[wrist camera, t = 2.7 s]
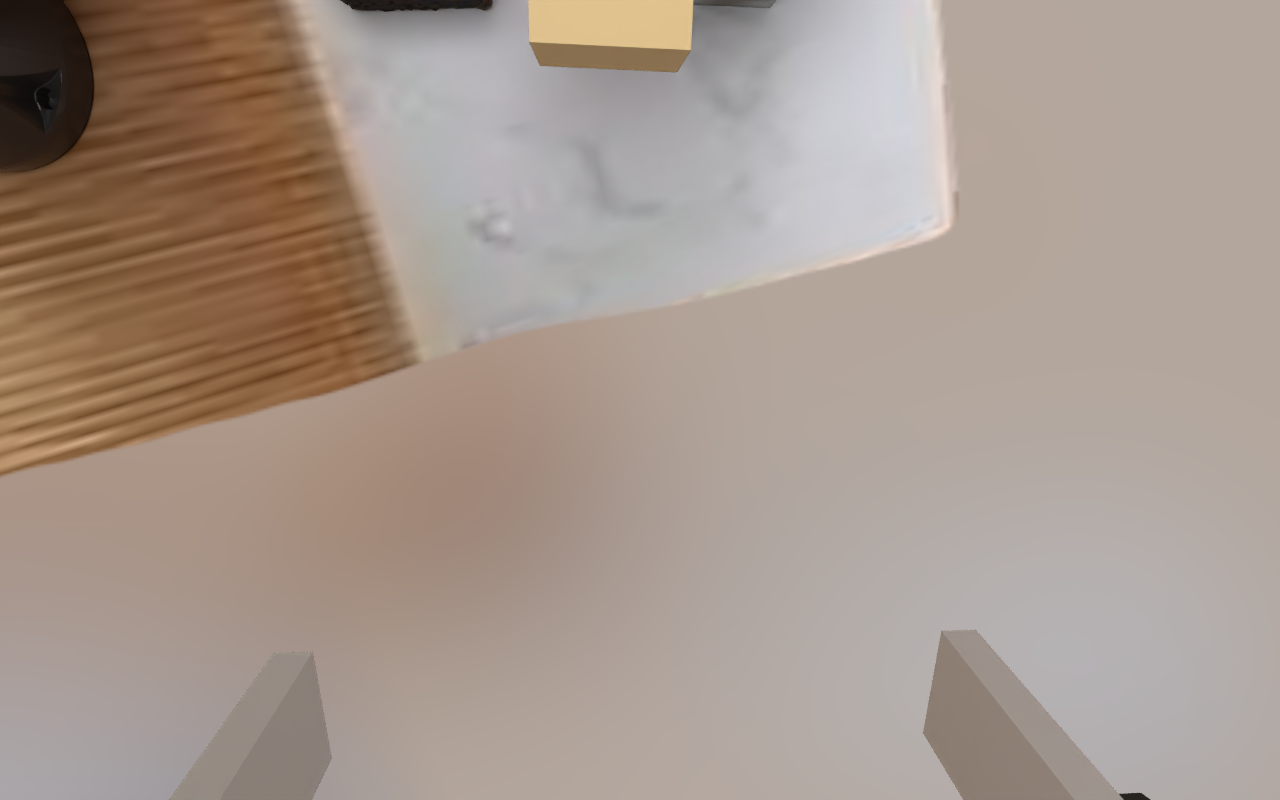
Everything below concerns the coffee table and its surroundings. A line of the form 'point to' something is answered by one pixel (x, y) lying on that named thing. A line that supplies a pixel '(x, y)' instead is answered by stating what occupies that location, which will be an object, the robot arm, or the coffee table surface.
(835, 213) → the coffee table surface
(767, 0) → the stepped stand
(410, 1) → the candle
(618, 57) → the ochre batten
